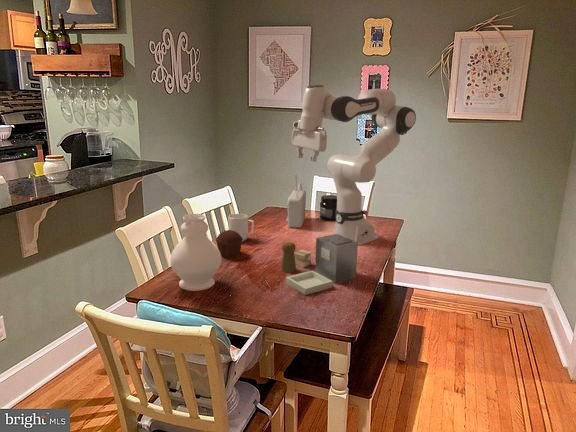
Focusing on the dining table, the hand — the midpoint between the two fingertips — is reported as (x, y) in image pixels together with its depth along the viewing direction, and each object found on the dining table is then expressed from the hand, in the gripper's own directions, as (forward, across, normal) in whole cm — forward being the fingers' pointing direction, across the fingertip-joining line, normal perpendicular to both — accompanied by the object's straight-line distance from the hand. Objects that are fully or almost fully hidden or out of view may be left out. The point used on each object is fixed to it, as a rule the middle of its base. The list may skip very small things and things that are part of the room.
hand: (306, 159), depth 197 cm
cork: (+41, -16, +14) cm, 46 cm away
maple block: (+40, -14, +6) cm, 43 cm away
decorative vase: (+45, -10, +49) cm, 67 cm away
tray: (+41, -32, +16) cm, 54 cm away
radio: (+38, +36, -24) cm, 57 cm away
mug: (+42, +26, +12) cm, 51 cm away
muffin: (+43, +12, +25) cm, 51 cm away
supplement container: (+36, +33, -44) cm, 65 cm away
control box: (+39, -30, +2) cm, 49 cm away
